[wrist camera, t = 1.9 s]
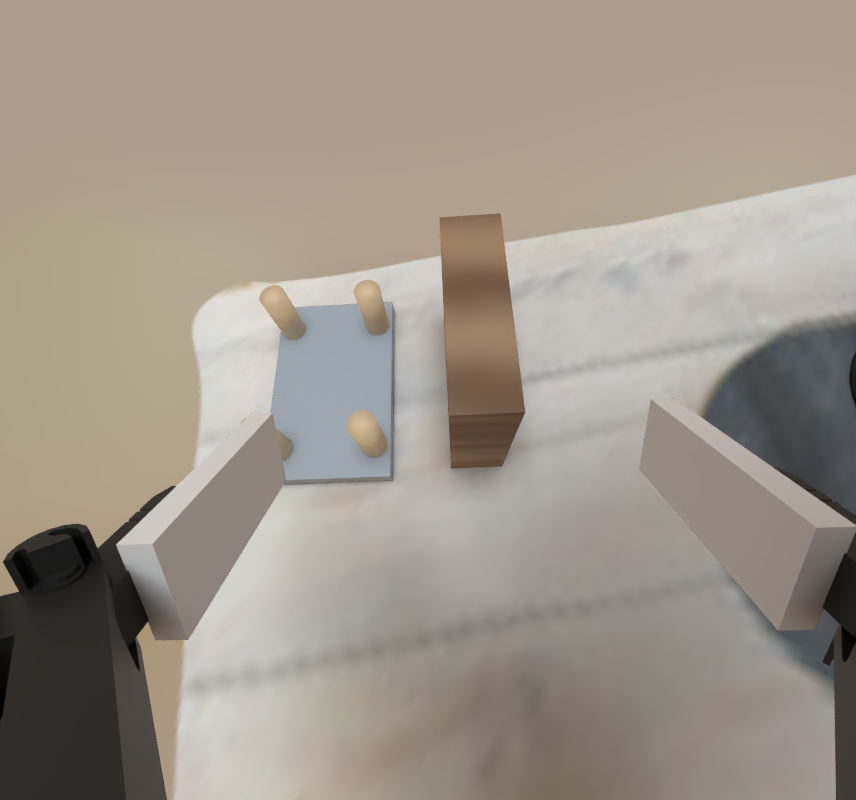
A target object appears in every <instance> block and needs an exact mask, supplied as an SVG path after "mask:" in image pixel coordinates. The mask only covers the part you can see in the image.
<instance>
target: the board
mask: <svg viewBox="0 0 856 800" xmlns="http://www.w3.org/2000/svg"><path fill="white" fill-rule="evenodd" d="M440 237H441V259H442V281H443V303H444V325H445V347H446V368H447V389H448V410H449V432H450V453H451V468H469V467H495V466H502V464H503V462H504V460H505V457H506V455H507V453H508V450H509V448H510V446H511V444H512V441H513V439H514V437H515V434H516V432H517V430H518V427H519V425H520V423H521V420H522V418H523V416H524V413H525V408H524V400H523V392H522V384H521V376H520V368H519V359H518V351H517V343H516V335H515V327H514V319H513V311H512V303H511V295H510V287H509V279H508V271H507V263H506V255H505V247H504V239H503V231H502V222H501V214H487V215H472V216H457V217H442V218H440Z"/></svg>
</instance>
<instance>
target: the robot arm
mask: <svg viewBox="0 0 856 800" xmlns="http://www.w3.org/2000/svg"><path fill="white" fill-rule="evenodd" d="M851 378H852V387H853V392H854V396H855V399H856V355H855V358H854V361H853V365H852V375H851ZM639 469H640V470H641V471H642V473H643V474H644V475H645V476H646V477H647V478H648V480H649V481H650V482H651V483H652V484H653V485H654V487H655V488H656V489H657V490H658V491H659V492H660V494H661V495H662V496H663V497H664V498H665V499H666V501H667V502H668V503H669V504H670V505H671V506H672V508H673V509H674V510H675V511H676V512H677V513H678V515H679V516H680V517H681V518H682V519H683V520H684V522H685V523H686V524H687V525H688V526H689V527H690V529H691V530H692V531H693V532H694V533H695V534H696V536H697V537H698V538H699V539H700V540H701V541H702V543H703V544H704V545H705V546H706V547H707V548H708V550H709V551H710V552H711V553H712V554H713V555H714V556H715V558H716V559H717V560H718V561H719V562H720V563H721V565H722V566H723V567H724V568H725V569H726V570H727V572H728V573H729V574H730V575H731V576H732V577H733V579H734V580H735V581H736V582H737V583H738V584H739V586H740V587H741V588H742V589H743V590H744V591H745V593H746V594H747V595H748V596H749V597H750V598H751V600H752V601H753V602H754V603H755V604H756V605H757V607H758V608H759V609H760V610H761V611H762V612H763V614H764V615H765V616H766V617H767V618H768V619H769V621H770V622H771V623H772V624H773V625H774V626H775V628H776V629H777V630H778V631H788V630H815V628H816V625H817V623H818V621H819V618H820V616H821V614H822V611H823V609H825V610H826V611H827V612H828V613H829V614H830V615H831V616H832V617H833V618H834V619H835V620H836V621H837V622H838V623H839V626H838V629H837V631H836V633H835V635H834V638H833V640H832V642H831V644H830V647H829V649H828V651H827V653H826V655H825V658H824V660H823V663H825V664H827V665H829V666H830V664H831V662H832V660H833V659H834V687H835V754H836V800H856V516H855V515H854V514H852V513H851V512H849V511H848V510H847V509H845V508H844V507H842V506H841V505H839V504H838V503H836V502H832V501H831V499H830V498H829V497H827V496H826V495H824V494H823V493H821V492H817V491H816V489H815V488H814V487H812V486H811V485H809V484H808V483H806V482H805V481H804V480H802V479H801V478H799V477H797V476H795V475H793V474H790V473H788V472H786V471H783V470H781V469H779V468H777V467H772V466H770V465H769V464H767V463H766V462H764V461H763V460H762V459H760V458H759V457H757V456H756V455H754V454H753V453H751V452H750V451H749V450H747V449H746V448H744V447H743V446H741V445H740V444H739V443H737V442H736V441H734V440H733V439H731V438H730V437H729V436H727V435H726V434H724V433H723V432H721V431H720V430H718V429H717V428H716V427H714V426H713V425H711V424H710V423H708V422H707V421H706V420H704V419H703V418H701V417H700V416H698V415H697V414H696V413H694V412H693V411H691V410H690V409H688V408H687V407H685V406H684V405H683V404H681V403H680V402H678V401H677V400H675V399H674V398H670V399H651V402H650V408H649V414H648V420H647V426H646V432H645V438H644V444H643V450H642V456H641V462H640V468H639ZM285 481H286V475H285V471H284V466H283V461H282V456H281V451H280V446H279V442H278V437H277V432H276V427H275V422H274V417H273V413H258V414H251V415H249V416H248V417H247V418H246V419H245V420H244V421H243V422H242V423H241V424H240V425H239V426H238V427H237V428H236V429H235V430H234V431H233V432H232V433H231V434H230V435H229V436H228V437H227V438H226V439H225V440H224V441H223V442H222V443H221V444H220V445H219V446H217V447H216V448H215V449H214V450H213V451H212V452H211V453H210V454H209V455H208V456H207V457H206V458H205V459H204V460H203V461H202V462H201V463H200V464H199V465H198V466H197V467H196V468H195V469H194V470H193V471H192V472H191V473H190V474H189V475H188V476H187V477H186V478H185V479H183V480H182V481H181V482H180V483H179V484H178V485H177V486H171V487H169V488H168V489H166V490H164V491H163V492H161V493H159V494H158V495H156V496H154V497H153V498H152V499H151V500H150V501H148V502H147V503H146V504H145V505H144V506H143V507H142V508H141V509H140V512H137V513H135V514H134V515H133V516H132V517H131V518H130V519H129V522H126V523H125V524H124V525H123V526H122V527H120V528H119V529H118V530H117V531H116V532H115V533H114V534H113V535H112V536H111V537H110V538H109V539H108V540H107V541H105V542H104V543H103V544H102V545H101V546H100V547H99V548H98V549H97V547H96V545H95V542H94V540H93V537H92V535H91V533H90V531H89V529H88V528H87V526H85V525H81V524H71V525H63V526H60V527H56V528H53V529H49V530H47V531H44V532H42V533H39V534H37V535H35V536H33V537H31V538H29V539H27V540H26V541H24V542H23V543H21V544H19V545H18V546H16V547H15V548H14V549H13V550H12V551H10V553H8V554H7V556H6V558H5V560H4V561H3V563H4V565H5V567H6V568H7V570H8V572H9V574H10V576H11V577H12V579H13V581H14V583H15V585H16V586H17V588H18V590H19V592H16V593H12V594H8V595H4V596H0V800H167V798H166V792H165V787H164V780H163V775H162V769H161V763H160V757H159V751H158V745H157V740H156V734H155V728H154V723H153V716H152V710H151V704H150V698H149V693H148V687H147V681H146V675H145V669H144V663H143V658H142V652H141V647H140V645H139V643H138V640H137V638H136V637H137V635H138V634H139V632H140V631H141V630H142V629H143V627H144V626H145V625H146V623H147V622H148V623H149V626H150V628H151V631H152V633H153V635H154V638H155V640H188V639H189V637H190V636H191V634H192V633H193V631H194V629H195V628H196V626H197V624H198V623H199V621H200V620H201V618H202V616H203V615H204V613H205V611H206V610H207V608H208V606H209V605H210V603H211V602H212V600H213V598H214V597H215V595H216V593H217V592H218V590H219V589H220V587H221V585H222V584H223V582H224V580H225V579H226V577H227V576H228V574H229V572H230V571H231V569H232V567H233V566H234V564H235V562H236V561H237V559H238V558H239V556H240V554H241V553H242V551H243V549H244V548H245V546H246V545H247V543H248V541H249V540H250V538H251V536H252V535H253V533H254V532H255V530H256V528H257V527H258V525H259V523H260V522H261V520H262V519H263V517H264V515H265V514H266V512H267V510H268V509H269V507H270V505H271V504H272V502H273V501H274V499H275V497H276V496H277V494H278V492H279V491H280V489H281V488H282V486H283V484H284V483H285Z"/></svg>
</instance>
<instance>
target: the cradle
mask: <svg viewBox="0 0 856 800" xmlns="http://www.w3.org/2000/svg"><path fill="white" fill-rule="evenodd" d="M354 294H355V297H356V300H357V303H358V304H345V305H328V306H310V307H294V306H293V305H292V303H291V301H290V300H289V298H288V296H287V295H286V293H285V291H284V290H283V289H282V288H281V287H279V286H270V287H267V288H266V289H264V290H263V291H262V293H261V294H260V302H261V303H262V305H263V306H264V307H265V309H266V310H267V312H268V313H269V314H270V316H271V317H272V319H273V320H274V321H275V323H276V324H277V326H278V327H279V328H280V330H281V338H280V345H279V353H278V360H277V368H276V375H275V383H274V390H273V398H272V406H271V413H273V417H274V422H275V427H276V432H277V437H278V442H279V446H280V451H281V456H282V461H283V466H284V471H285V475H286V481H285V483H284V484H306V483H333V482H360V481H387V480H393V418H394V308H393V303H392V302H383V299H382V296H381V292H380V288H379V285H378V284H377V283H376V282H374V281H372V280H364V281H362V282H360V283H358V284H357V285H356V287H355V289H354ZM245 419H246V418H245ZM245 419H244V420H245ZM244 420H243V421H244ZM243 421H242V422H243ZM242 422H241V423H242Z"/></svg>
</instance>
